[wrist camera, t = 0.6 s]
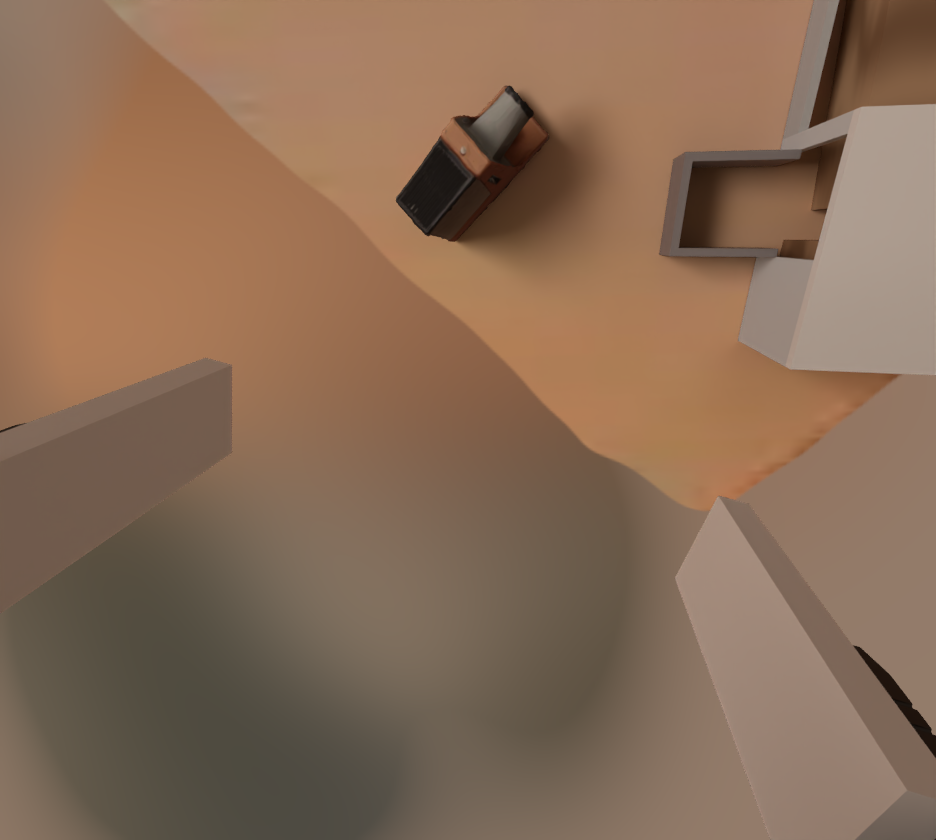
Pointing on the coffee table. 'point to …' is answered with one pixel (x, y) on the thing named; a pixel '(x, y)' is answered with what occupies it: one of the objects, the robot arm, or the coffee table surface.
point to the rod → (879, 68)
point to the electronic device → (471, 166)
